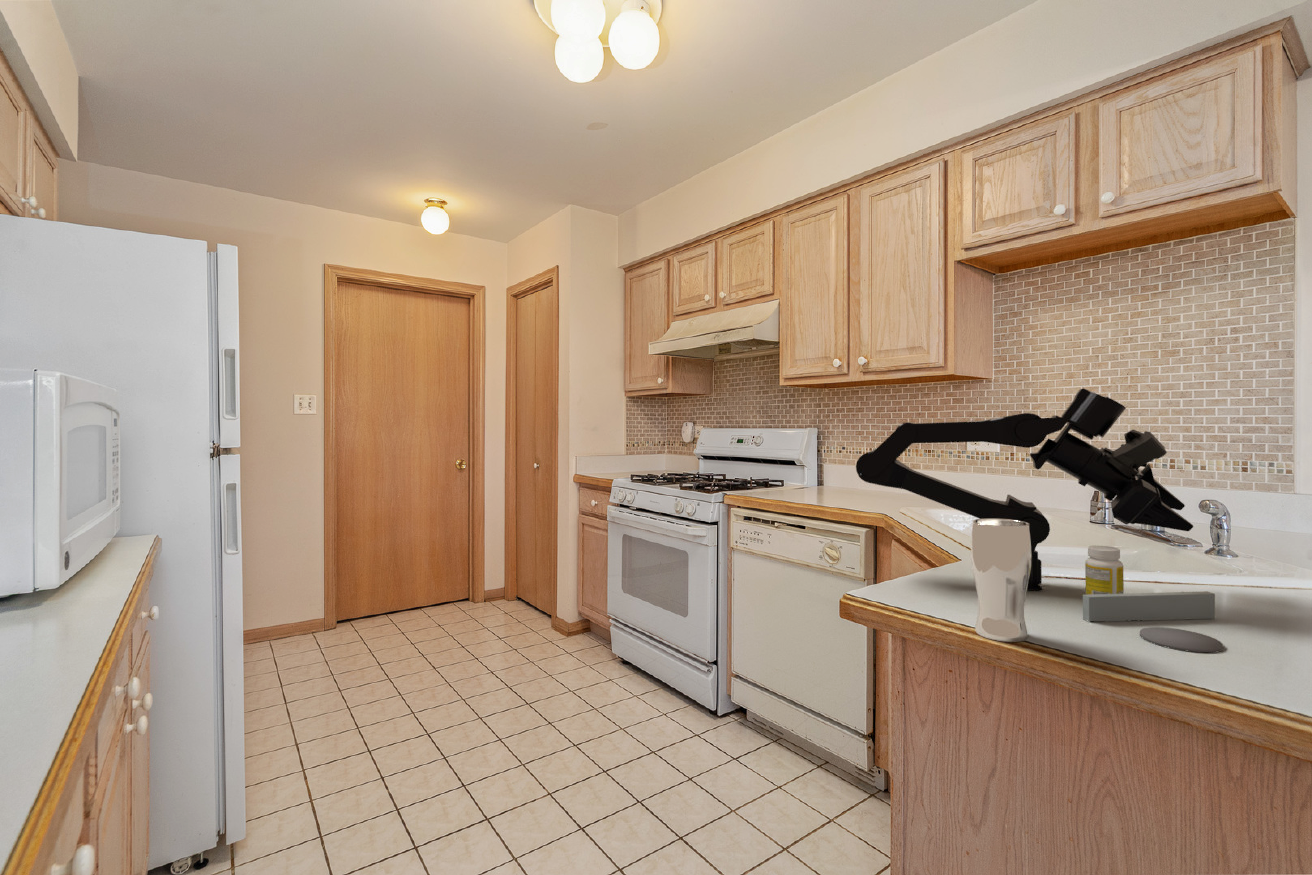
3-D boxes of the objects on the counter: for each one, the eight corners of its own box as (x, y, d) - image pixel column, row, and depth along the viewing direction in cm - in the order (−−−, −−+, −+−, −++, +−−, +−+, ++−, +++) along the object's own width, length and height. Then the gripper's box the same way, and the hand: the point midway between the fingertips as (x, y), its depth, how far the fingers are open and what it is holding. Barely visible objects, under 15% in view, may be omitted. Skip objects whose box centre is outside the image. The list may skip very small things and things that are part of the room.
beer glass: (959, 630, 83) (959, 520, 83) (995, 622, 86) (994, 516, 85) (1007, 647, 77) (1006, 528, 76) (1044, 638, 79) (1043, 523, 79)
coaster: (1162, 650, 74) (1162, 647, 74) (1127, 628, 82) (1127, 625, 82) (1239, 654, 73) (1239, 651, 73) (1196, 631, 81) (1196, 628, 81)
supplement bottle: (1110, 597, 96) (1110, 544, 96) (1131, 606, 92) (1131, 551, 92) (1078, 597, 97) (1078, 544, 97) (1097, 606, 92) (1097, 551, 92)
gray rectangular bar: (1089, 621, 85) (1089, 597, 85) (1082, 619, 86) (1082, 594, 86) (1214, 618, 86) (1214, 593, 86) (1206, 615, 87) (1206, 591, 87)
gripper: (1122, 435, 88) (1242, 497, 82) (1116, 409, 103) (1217, 460, 97) (1070, 494, 93) (1179, 556, 88) (1071, 460, 108) (1165, 512, 103)
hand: (1186, 517), depth 94 cm, fingers open, 9 cm apart
